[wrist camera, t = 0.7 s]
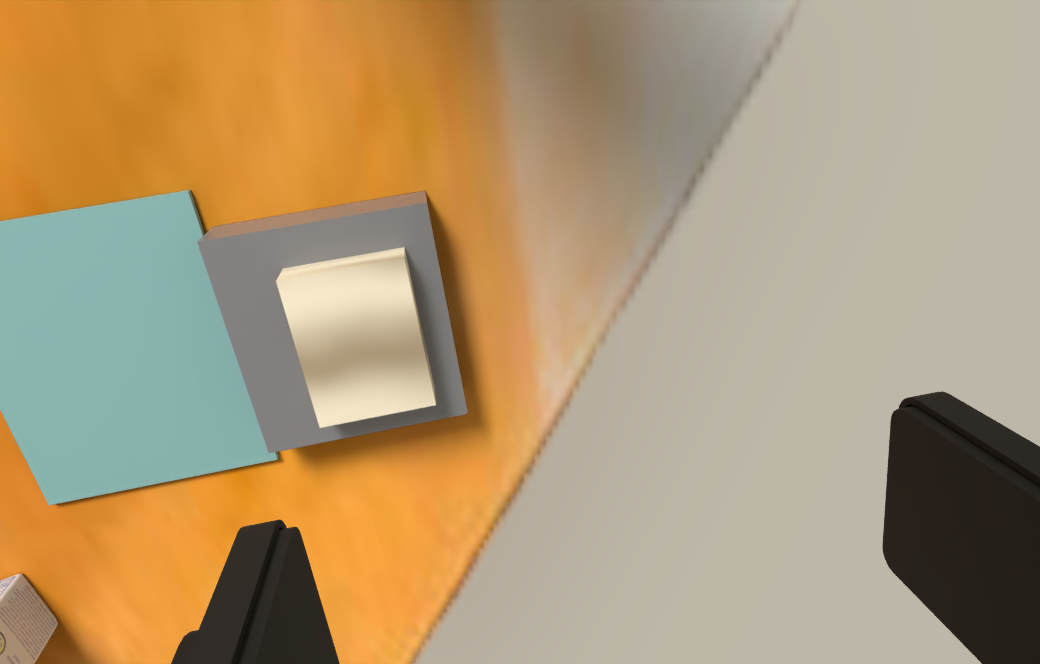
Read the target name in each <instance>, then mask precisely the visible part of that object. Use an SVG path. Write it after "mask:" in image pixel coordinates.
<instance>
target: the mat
mask: <svg viewBox="0 0 1040 664" xmlns="http://www.w3.org/2000/svg"><path fill="white" fill-rule="evenodd" d="M204 235H205V232H204V229H203V226H202V223H201V220H200V217H199V214H198V211H197V208H196V205H195V202H194V199H193V196H192V193H191V190H187V191H181V192H174V193H168V194H162V195H156V196H150V197H144V198H138V199H132V200H126V201H120V202H114V203H108V204H102V205H96V206H90V207H83V208H77V209H71V210H65V211H59V212H53V213H47V214H41V215H35V216H29V217H23V218H17V219H11V220H5V221H0V410H1V412H2V414H3V416H4V418H5V420H6V422H7V424H8V426H9V428H10V430H11V432H12V434H13V436H14V438H15V440H16V442H17V444H18V446H19V448H20V449H21V451H22V453H23V455H24V457H25V459H26V461H27V463H28V465H29V467H30V469H31V471H32V473H33V475H34V477H35V479H36V481H37V483H38V485H39V487H40V489H41V491H42V493H43V495H44V497H45V498H46V500H47V502H48V504H49V505H53V504H58V503H63V502H68V501H73V500H78V499H83V498H88V497H93V496H98V495H103V494H108V493H113V492H118V491H123V490H128V489H133V488H138V487H143V486H148V485H153V484H158V483H163V482H168V481H173V480H178V479H183V478H188V477H193V476H198V475H203V474H208V473H213V472H218V471H223V470H228V469H233V468H238V467H243V466H248V465H253V464H258V463H263V462H268V461H273V460H278V457H279V455H278V452H273V453H268V450H267V447H266V444H265V441H264V438H263V435H262V432H261V429H260V426H259V423H258V421H257V418H256V415H255V412H254V409H253V406H252V403H251V400H250V397H249V394H248V391H247V388H246V385H245V382H244V379H243V376H242V373H241V370H240V367H239V364H238V362H237V359H236V356H235V353H234V350H233V347H232V344H231V341H230V338H229V335H228V332H227V329H226V326H225V323H224V320H223V317H222V314H221V311H220V308H219V305H218V303H217V300H216V297H215V294H214V291H213V288H212V285H211V282H210V279H209V276H208V273H207V270H206V267H205V264H204V261H203V258H202V255H201V252H200V249H199V246H198V244H197V241H198V240H199V239H201V238H202V237H203V236H204Z"/></svg>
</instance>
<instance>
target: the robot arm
mask: <svg viewBox="0 0 1040 664" xmlns="http://www.w3.org/2000/svg"><path fill="white" fill-rule="evenodd" d="M888 458H889V459H888V473H887V487H886V503H885V518H884V533H883V553H884V557H885V560H886V562H887V564H888V566H889V568H890V569H891V570H892V572H893V573H894V574H895V575H896V576H897V577H898V578H899V579H900V580H901V581H902V582H903V583H904V584H905V585H906V586H907V587H908V588H909V589H910V590H911V591H912V592H913V593H914V594H915V595H916V596H917V597H918V598H919V599H920V600H921V601H922V602H923V604H925V606H926V607H927V608H928V609H929V610H930V611H931V612H933V614H934V615H935V616H936V617H937V618H938V619H939V620H940V621H941V622H942V623H943V624H944V625H945V626H946V627H947V628H948V629H949V630H950V631H951V632H952V633H953V634H954V635H955V636H956V637H957V638H958V639H959V640H960V641H961V642H962V643H963V645H965V647H966V648H967V649H968V650H969V651H970V652H971V653H972V654H973V655H974V656H975V657H976V658H977V659H978V660H979V661H980V662H981V663H982V664H1040V447H1039V446H1038V445H1036V444H1034V443H1032V442H1031V441H1029V440H1027V439H1026V438H1024V437H1022V436H1020V435H1019V434H1017V433H1015V432H1014V431H1012V430H1010V429H1008V428H1007V427H1005V426H1003V425H1002V424H1000V423H998V422H996V421H995V420H993V419H991V418H990V417H988V416H986V415H984V414H983V413H981V412H979V411H977V410H976V409H974V408H972V407H971V406H969V405H967V404H965V403H964V402H962V401H960V400H958V399H957V398H955V397H953V396H952V395H950V394H948V393H945V392H935V393H930V394H925V395H920V396H914V397H909V398H906V399H904V400H903V401H902V402H901V404H900V406H899V409H897V410H895V411H894V412H893V414H892V417H891V426H890V442H889V457H888ZM171 664H339V660H338V657H337V654H336V650H335V647H334V644H333V640H332V637H331V634H330V630H329V627H328V623H327V620H326V617H325V613H324V610H323V607H322V603H321V600H320V597H319V593H318V590H317V587H316V583H315V580H314V577H313V573H312V570H311V567H310V563H309V560H308V557H307V553H306V550H305V546H304V543H303V540H302V536H301V534H300V531H299V529H298V528H297V527H292V528H286V525H285V524H284V522H283V521H282V520H276V521H270V522H265V523H260V524H255V525H250V526H245V527H242V528H240V530H239V531H238V533H237V536H236V538H235V541H234V543H233V546H232V548H231V551H230V553H229V556H228V558H227V561H226V563H225V566H224V568H223V571H222V573H221V576H220V578H219V581H218V583H217V586H216V588H215V591H214V593H213V596H212V598H211V601H210V603H209V606H208V608H207V611H206V613H205V616H204V618H203V621H202V623H201V626H200V628H199V630H197V631H192V632H189V633H188V634H187V635H185V636H184V638H183V639H182V641H181V643H180V644H179V646H178V649H177V651H176V653H175V656H174V658H173V660H172V663H171Z"/></svg>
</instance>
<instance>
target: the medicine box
mask: <svg viewBox="0 0 1040 664" xmlns="http://www.w3.org/2000/svg"><path fill="white" fill-rule="evenodd" d="M57 625H58V622H57V619H56V617H55V616H54V615H53V613H52V612H51V611H50V609H49V608H48V606H47V605H46V604H45V602H44V601H43V600H42V598H41V597H40V596H39V595H38V593H37V592H36V591H35V589H34V588H33V587H32V585H31V584H30V583H29V582H28V580H27V579H26V578H25V577H24V576H23V574H17V575H14V576H11V577H8V578H6V579H3V580H0V664H34V663H35V662H36V660H37V659H38V657H39V655H40V654H41V652H42V650H43V649H44V647H45V645H46V644H47V642H48V641H49V639H50V637H51V636H52V634H53V632H54V631H55V629H56V627H57Z"/></svg>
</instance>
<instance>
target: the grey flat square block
mask: <svg viewBox="0 0 1040 664" xmlns="http://www.w3.org/2000/svg"><path fill="white" fill-rule="evenodd" d="M197 244H198V246H199V249H200V252H201V255H202V258H203V261H204V264H205V267H206V270H207V273H208V276H209V279H210V282H211V285H212V288H213V291H214V294H215V297H216V300H217V303H218V305H219V308H220V311H221V314H222V317H223V320H224V323H225V326H226V329H227V332H228V335H229V338H230V341H231V344H232V347H233V350H234V353H235V356H236V359H237V362H238V364H239V367H240V370H241V373H242V376H243V379H244V382H245V385H246V388H247V391H248V394H249V397H250V400H251V403H252V406H253V409H254V412H255V415H256V418H257V421H258V423H259V426H260V429H261V432H262V435H263V438H264V441H265V444H266V447H267V450H268V453H273V452H278V451H283V450H288V449H293V448H298V447H303V446H308V445H313V444H318V443H323V442H328V441H333V440H338V439H343V438H348V437H353V436H358V435H363V434H369V433H374V432H379V431H384V430H389V429H394V428H399V427H404V426H409V425H414V424H419V423H424V422H429V421H434V420H439V419H444V418H449V417H454V416H459V415H464V414H468V412H467V406H466V400H465V394H464V388H463V383H462V378H461V373H460V368H459V362H458V357H457V352H456V347H455V342H454V337H453V332H452V326H451V321H450V316H449V311H448V306H447V301H446V296H445V290H444V285H443V280H442V275H441V270H440V265H439V260H438V254H437V249H436V244H435V239H434V234H433V229H432V224H431V218H430V213H429V208H428V203H427V198H426V193H425V191H421V192H415V193H409V194H403V195H397V196H391V197H385V198H379V199H373V200H368V201H362V202H356V203H350V204H344V205H338V206H332V207H326V208H320V209H315V210H309V211H303V212H297V213H291V214H285V215H279V216H273V217H267V218H262V219H256V220H250V221H244V222H238V223H232V224H226V225H220V226H214V227H212V228H211V229H210V230H209V231H208V232H207V233H206V234H205V235H204V236H203V237H202V238H201V239H199V240H198V241H197ZM402 247H405V252H406V256H407V261H408V266H409V270H410V275H411V280H412V284H413V289H414V294H415V298H416V303H417V308H418V312H419V317H420V322H421V327H422V331H423V336H424V341H425V345H426V350H427V355H428V359H429V364H430V369H431V373H432V378H433V383H434V387H435V399H436V405H434V406H429V407H424V408H419V409H414V410H409V411H404V412H398V413H393V414H388V415H383V416H378V417H373V418H368V419H363V420H358V421H353V422H348V423H343V424H338V425H332V426H327V427H322V428H320V427H319V424H318V421H317V417H316V414H315V411H314V407H313V404H312V401H311V397H310V394H309V391H308V387H307V384H306V380H305V377H304V374H303V370H302V367H301V364H300V360H299V357H298V354H297V350H296V347H295V344H294V340H293V337H292V334H291V330H290V327H289V323H288V320H287V317H286V313H285V310H284V307H283V303H282V300H281V297H280V293H279V290H278V287H277V283H276V280H277V278H278V277H279V275H280V273H281V271H282V269H283V268H289V267H295V266H300V265H306V264H312V263H317V262H323V261H329V260H334V259H340V258H346V257H351V256H357V255H363V254H368V253H374V252H380V251H385V250H391V249H397V248H402Z"/></svg>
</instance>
